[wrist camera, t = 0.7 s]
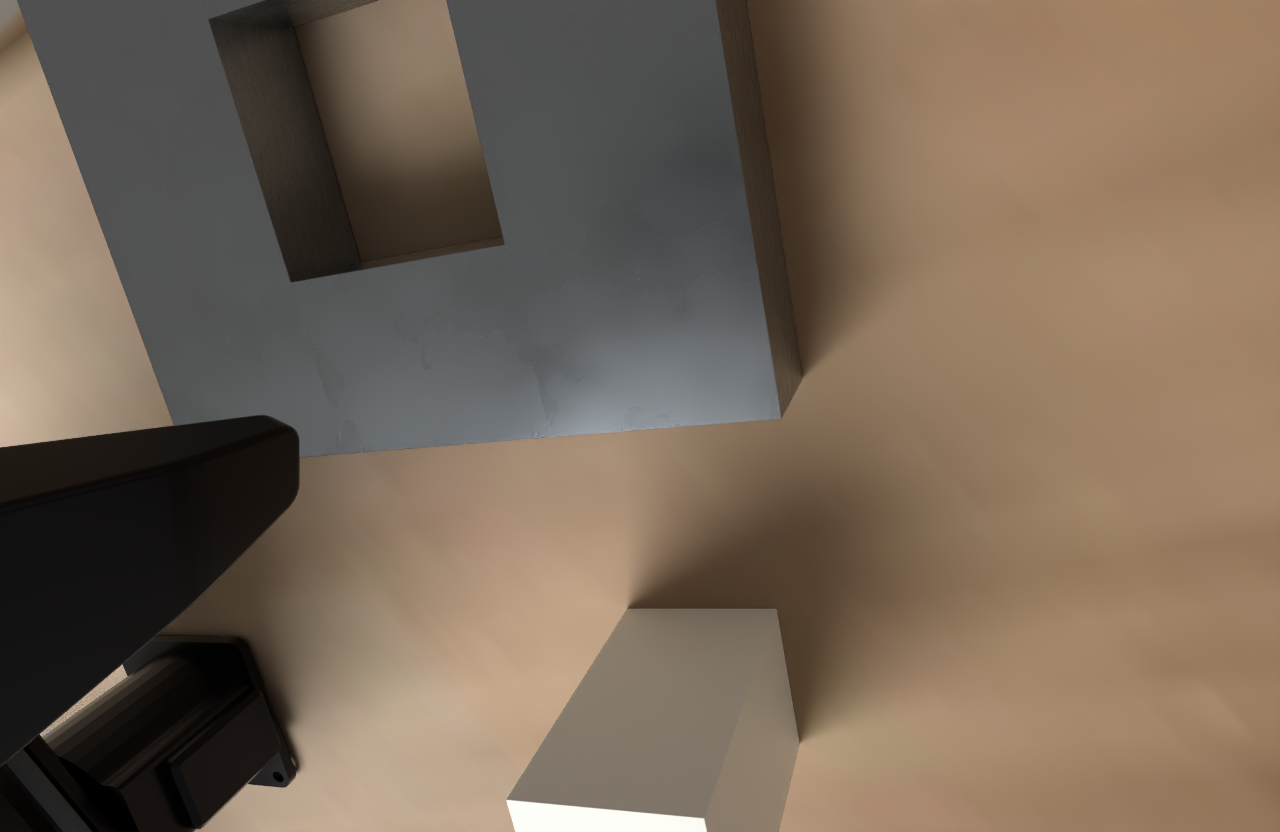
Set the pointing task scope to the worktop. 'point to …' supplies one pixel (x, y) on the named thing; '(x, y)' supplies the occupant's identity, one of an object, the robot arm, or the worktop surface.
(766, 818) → the white rectangular block
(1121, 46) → the worktop surface
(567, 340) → the jig plate
